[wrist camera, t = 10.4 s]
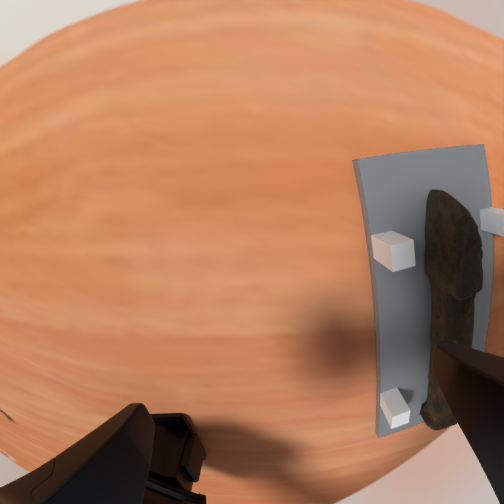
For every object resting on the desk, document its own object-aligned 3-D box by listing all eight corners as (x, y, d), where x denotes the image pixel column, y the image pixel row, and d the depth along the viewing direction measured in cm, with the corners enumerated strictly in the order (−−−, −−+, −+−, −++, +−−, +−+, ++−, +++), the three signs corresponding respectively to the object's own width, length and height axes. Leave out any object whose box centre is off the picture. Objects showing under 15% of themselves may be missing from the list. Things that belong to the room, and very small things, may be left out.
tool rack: (375, 431, 23) (387, 460, 19) (352, 160, 18) (375, 155, 14) (468, 393, 22) (486, 415, 18) (476, 145, 17) (509, 142, 13)
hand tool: (450, 394, 21) (473, 423, 16) (415, 409, 21) (435, 443, 17) (455, 184, 17) (498, 187, 12) (410, 193, 17) (451, 198, 12)
